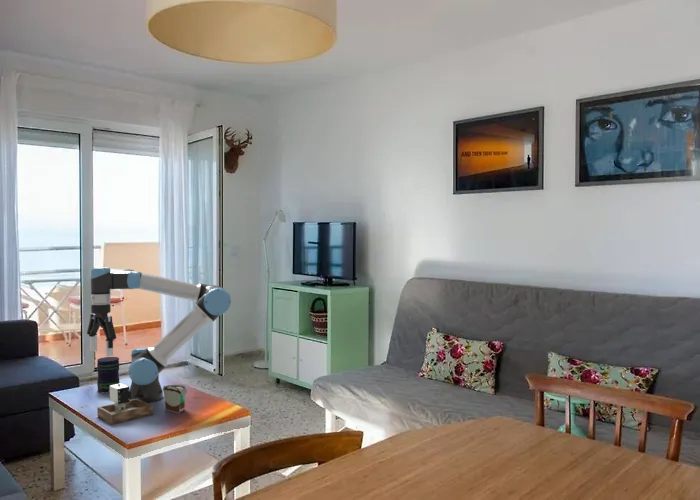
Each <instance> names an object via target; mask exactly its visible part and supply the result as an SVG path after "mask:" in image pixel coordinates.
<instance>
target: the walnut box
mask: <svg viewBox="0 0 700 500" xmlns="http://www.w3.org/2000/svg"><path fill="white" fill-rule="evenodd" d="M114 404H117V403H115V402H113V403H111V404H105V405H99V406H97V409H96V410H97V414H96V416H98V417H97V418H99V417H100V418H99V419H101V420H102V419H103V421H104V420H105V421H104V422H106V423H108V424H110V425H117V424H120V423H125V422H128V421H133V420H137V419H141V418H142V419H143V418H145V417H150V416H153V415H154V413H153V412H154V411H153V410H154V409H153V406H154V405H153V404H150V403H149V402H144V401H142V400H139V399H133V400H130V402H126V403H124V404H125V410H126V411H122V412H118V413H116V412H114V411H115V406H114Z"/></svg>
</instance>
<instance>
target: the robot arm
mask: <svg viewBox="0 0 700 500" xmlns="http://www.w3.org/2000/svg"><path fill="white" fill-rule="evenodd" d="M135 289H136V290H137V289H138V290H143V291H147V292H151V293H156V294H160V295H163V296H164V295H165V296H169V297H174V298H179V299H184V300H186V301H188V300H189V301H192V302H193V303H194V308H193V309H192V310H191V311H190V312H189V313H188V314H187V315H185V317H184V318H182V319H181V320H180V321H179V323H177V324H176V325H175V326H174V327H173V328H172V329H170V331H169V332H168V333H167V334H165V335H164V336H163V337H162V338H161V339H160V340H159V341H158V342H157V343H156V344H155V345H154V346H151V347H150V346H149V347H141V348H140V347H138V348H133V349H132V350H131V354H130V357H131V363H130V365H129V368H128V375H129V379H130V380H131V384H130V386H129V391H131V399H130V400H133V399H139V400H142V401H144V402H146V403H151V402H156V401H159V400H161V399H162V398H164V391H163V388H162V386H161V383H160V378H159V377H160V373H161V372H162V371H163V370H165V368H166V367H168V360H170V359H171V358H172V357H173V356H174V355H175V354H176V353H177V352H178V351H179V350H180V349H181V348H183V346H185V344H186V343H188V342H189V341H190V340H191V339H192V338H193V337H195V335H196V334H197V333H199V331H201V329H203V328H204V326H206V325H207V324H208V323H211V322H215V321H216V320H217V319H218V318H219V317H220V316H221V315H223V314H225V313H226V312H228V311H229V308H230V307H231V303H232V299H231V295H230V293H229V292H228V290H226V289H225V288H224V287H222V286H220V285H214V284H213V285H212V284H207V283H206V284H205V283H198V284H195V283H191V282H185V281H180V280H177V279H171V278H168V277H163V276H159V275H154V274H150V273H145V272H141V271H135V270H134V269H130V268H129V269H123V271H111V268H110V267H109V266H105V267H103V266H101V267H100V266H99V267H98V266H97V267H93V268H92V269H91V270H90V302H91V303H90V304H91V305H90V306H91V307H90V309H91V310H90V311H91V314H90V316H89V322H88V325H87V326H88V327H87V331H86V334H87V335H88V336H89V352H90V353H93V352H94V353H95V352H98V334H97V333H98V331H99V329H100V328H102V331H103V333H104V336H105V338H106V339H105V356H106V357H113V356H114V340H116V339H117V335H116V331H115V328H114V322H113V317H112V315H110V316H108V314H109V313H111V306H112V305H111V304H110V303H111V302H112V301H111V290H135Z"/></svg>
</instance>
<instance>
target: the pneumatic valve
mask: <svg viewBox="0 0 700 500" xmlns="http://www.w3.org/2000/svg"><path fill="white" fill-rule="evenodd" d="M129 390H130V386H129V385H127V384H123V383H121V382H119V383H118V384H114V385H109V392H108V395H109V400H110V402H113V404H114V403H117V404H114V406H115V411H114V412H116V413H118V412H122V411H126V410H125V404H124V403H126V402H130V399H131V391H129Z"/></svg>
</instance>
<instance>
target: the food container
mask: <svg viewBox="0 0 700 500" xmlns="http://www.w3.org/2000/svg"><path fill="white" fill-rule="evenodd" d="M162 391H163V398H164V410H165V411H168V412H172V413H176V414H182V413H184V411H185V407H186V406H185V405H186V394H188V388H187V387H186V386H185V385H183V384H167V385H163V388H162Z"/></svg>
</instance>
